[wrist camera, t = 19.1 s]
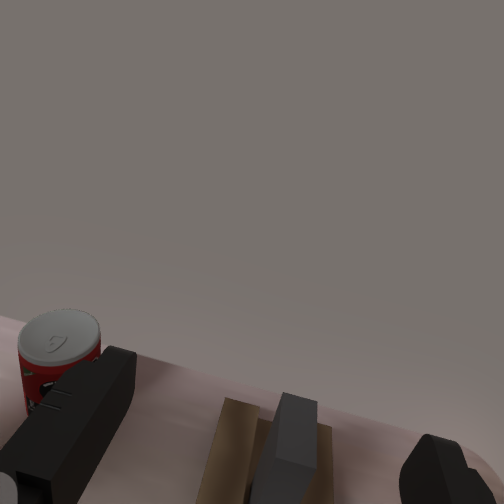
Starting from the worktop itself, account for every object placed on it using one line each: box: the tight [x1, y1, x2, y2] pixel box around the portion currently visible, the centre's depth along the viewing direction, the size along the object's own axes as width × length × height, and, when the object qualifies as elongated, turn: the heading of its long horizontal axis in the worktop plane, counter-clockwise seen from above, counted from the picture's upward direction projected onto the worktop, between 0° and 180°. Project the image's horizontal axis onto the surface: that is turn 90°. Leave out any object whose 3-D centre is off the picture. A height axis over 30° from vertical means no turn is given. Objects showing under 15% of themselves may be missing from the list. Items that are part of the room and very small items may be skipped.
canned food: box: [18, 309, 101, 416], centre depth 42 cm, size 8×8×11 cm
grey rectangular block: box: [248, 392, 317, 504], centre depth 33 cm, size 3×6×14 cm, turn 170°
